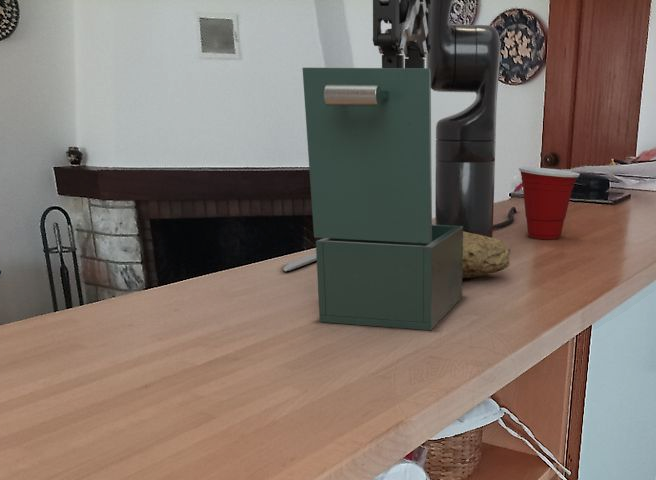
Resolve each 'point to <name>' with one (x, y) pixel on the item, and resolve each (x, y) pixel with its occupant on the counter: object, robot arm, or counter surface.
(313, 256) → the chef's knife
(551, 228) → the plastic cup
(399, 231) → the lid
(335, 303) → the box
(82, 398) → the counter surface
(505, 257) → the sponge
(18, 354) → the counter surface
